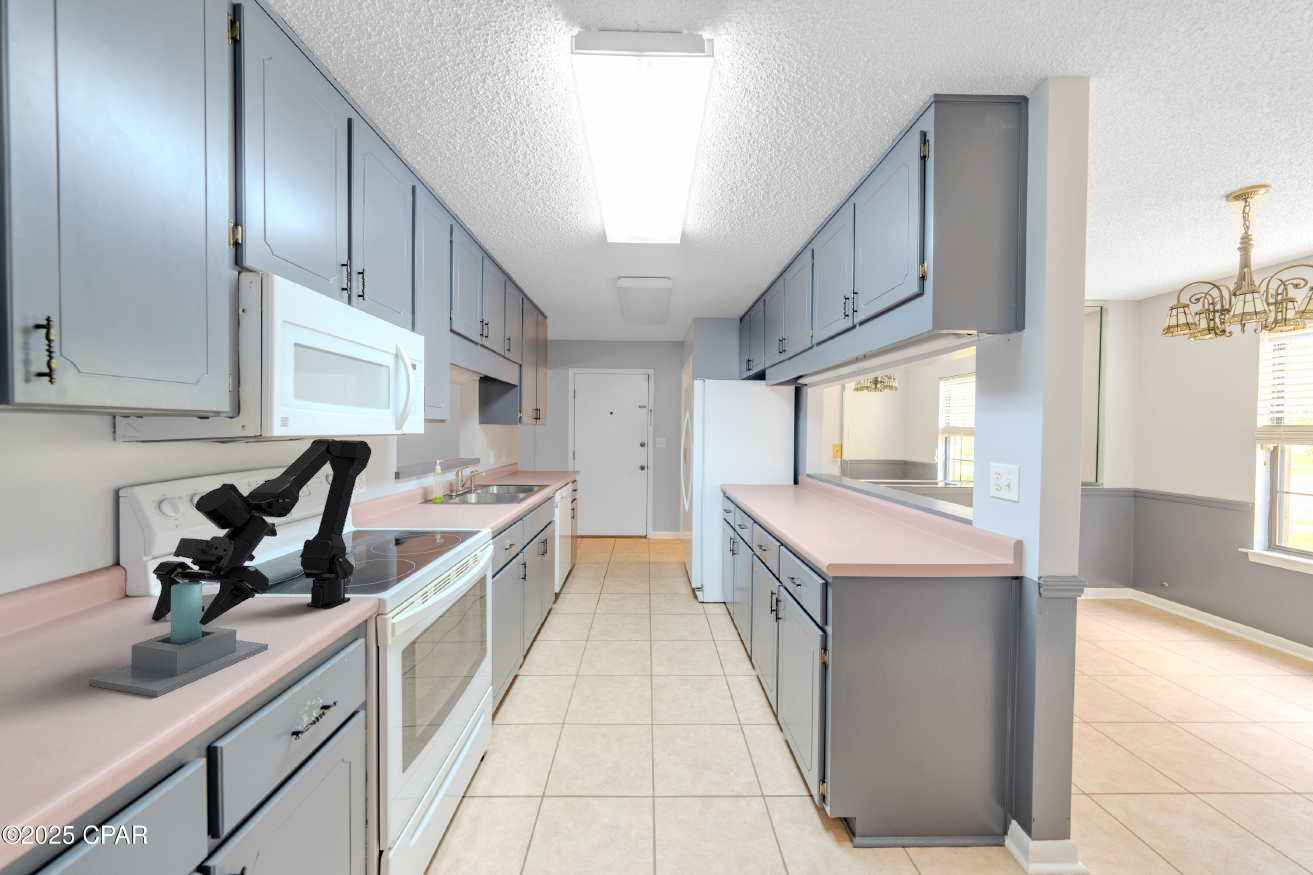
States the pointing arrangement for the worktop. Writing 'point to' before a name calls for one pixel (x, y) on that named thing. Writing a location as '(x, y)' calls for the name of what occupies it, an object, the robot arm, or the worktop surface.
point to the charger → (204, 597)
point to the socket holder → (177, 662)
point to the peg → (186, 612)
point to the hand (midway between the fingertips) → (177, 622)
